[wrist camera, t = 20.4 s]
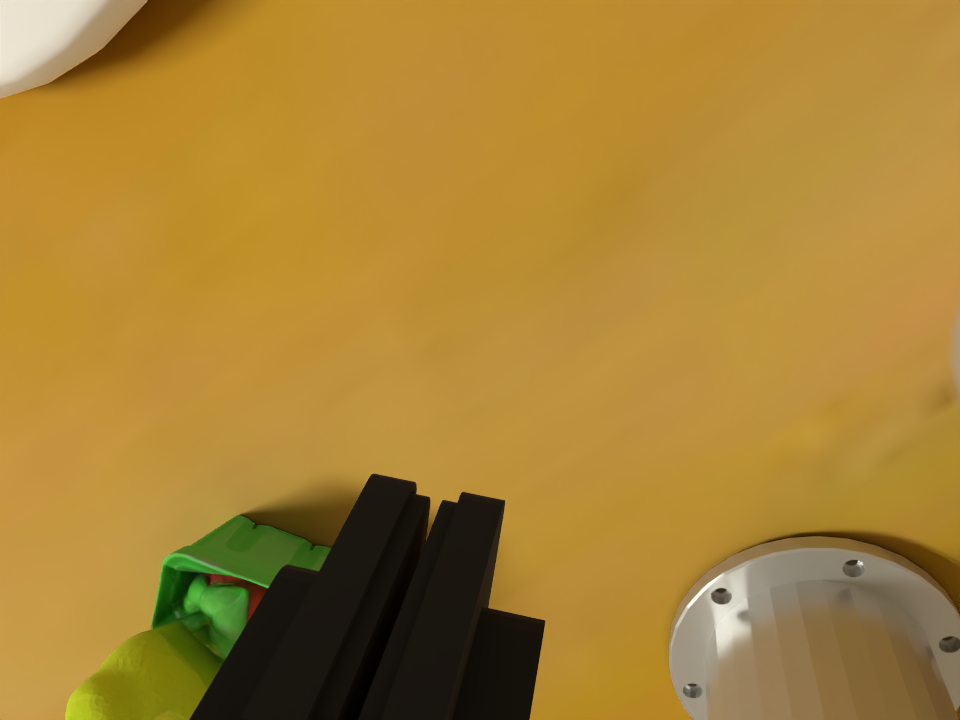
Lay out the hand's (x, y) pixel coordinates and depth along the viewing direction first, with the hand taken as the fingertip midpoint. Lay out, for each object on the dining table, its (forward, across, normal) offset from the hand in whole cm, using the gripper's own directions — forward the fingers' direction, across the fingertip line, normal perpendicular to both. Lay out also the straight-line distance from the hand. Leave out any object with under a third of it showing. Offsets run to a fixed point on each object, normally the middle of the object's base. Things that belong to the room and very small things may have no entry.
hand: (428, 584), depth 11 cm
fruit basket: (+25, +12, +24) cm, 37 cm away
